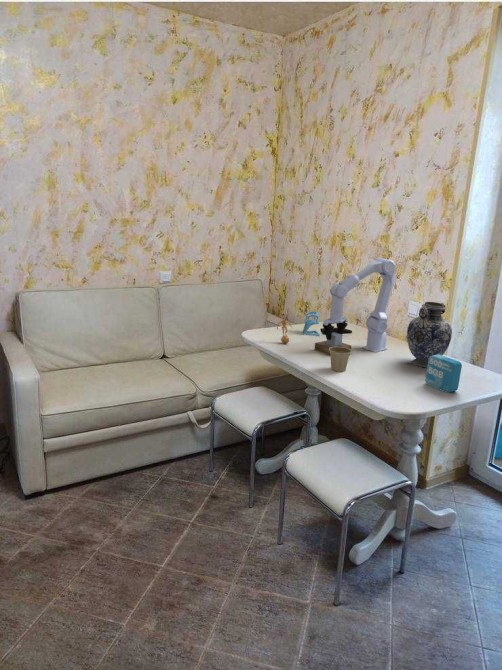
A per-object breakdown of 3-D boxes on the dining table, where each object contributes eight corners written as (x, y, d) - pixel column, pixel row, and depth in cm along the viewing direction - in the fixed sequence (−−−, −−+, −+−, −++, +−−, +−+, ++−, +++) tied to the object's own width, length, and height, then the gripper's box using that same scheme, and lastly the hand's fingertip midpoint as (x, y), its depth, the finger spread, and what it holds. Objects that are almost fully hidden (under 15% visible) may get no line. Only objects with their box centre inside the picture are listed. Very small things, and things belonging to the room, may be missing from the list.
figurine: (278, 345, 233) (280, 321, 230) (273, 341, 238) (275, 318, 235) (294, 344, 236) (296, 320, 233) (289, 340, 241) (290, 317, 238)
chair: (301, 332, 260) (302, 310, 257) (316, 332, 261) (317, 310, 258) (304, 335, 253) (305, 313, 250) (319, 336, 254) (321, 313, 251)
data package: (424, 383, 192) (428, 354, 189) (432, 381, 194) (436, 353, 191) (449, 393, 182) (455, 363, 179) (457, 392, 184) (462, 362, 181)
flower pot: (322, 366, 205) (324, 347, 203) (341, 364, 209) (343, 345, 206) (334, 374, 197) (336, 353, 194) (353, 372, 200) (356, 352, 198)
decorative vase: (416, 354, 229) (425, 297, 222) (454, 365, 217) (465, 304, 209) (393, 363, 215) (402, 301, 207) (432, 375, 202) (444, 310, 195)
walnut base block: (331, 347, 236) (332, 339, 235) (350, 353, 227) (351, 345, 226) (314, 350, 229) (315, 342, 228) (333, 357, 220) (334, 349, 219)
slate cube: (333, 342, 230) (334, 332, 229) (341, 344, 226) (342, 334, 225) (326, 343, 227) (327, 333, 226) (334, 346, 223) (335, 336, 222)
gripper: (332, 313, 215) (329, 342, 219) (353, 310, 224) (350, 338, 228) (321, 310, 220) (318, 338, 224) (341, 307, 229) (339, 334, 233)
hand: (333, 338), depth 226 cm, fingers open, 7 cm apart
